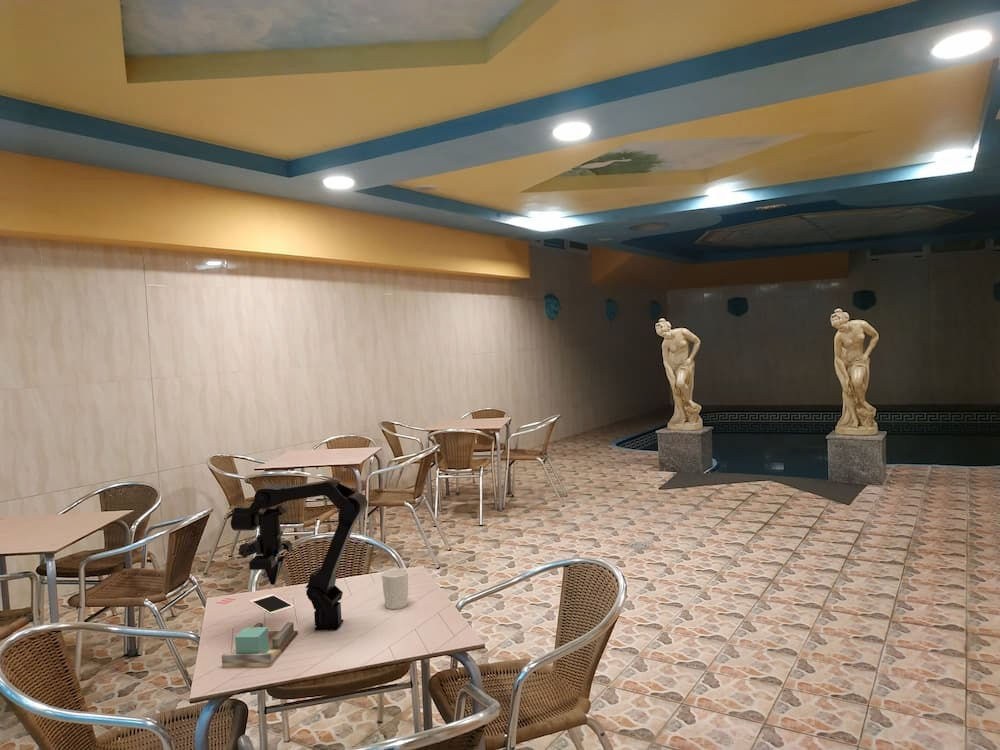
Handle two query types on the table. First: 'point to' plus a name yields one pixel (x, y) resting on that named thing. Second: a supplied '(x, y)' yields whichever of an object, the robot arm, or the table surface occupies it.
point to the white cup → (395, 588)
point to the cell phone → (271, 603)
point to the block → (252, 640)
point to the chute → (276, 647)
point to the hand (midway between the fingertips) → (273, 584)
